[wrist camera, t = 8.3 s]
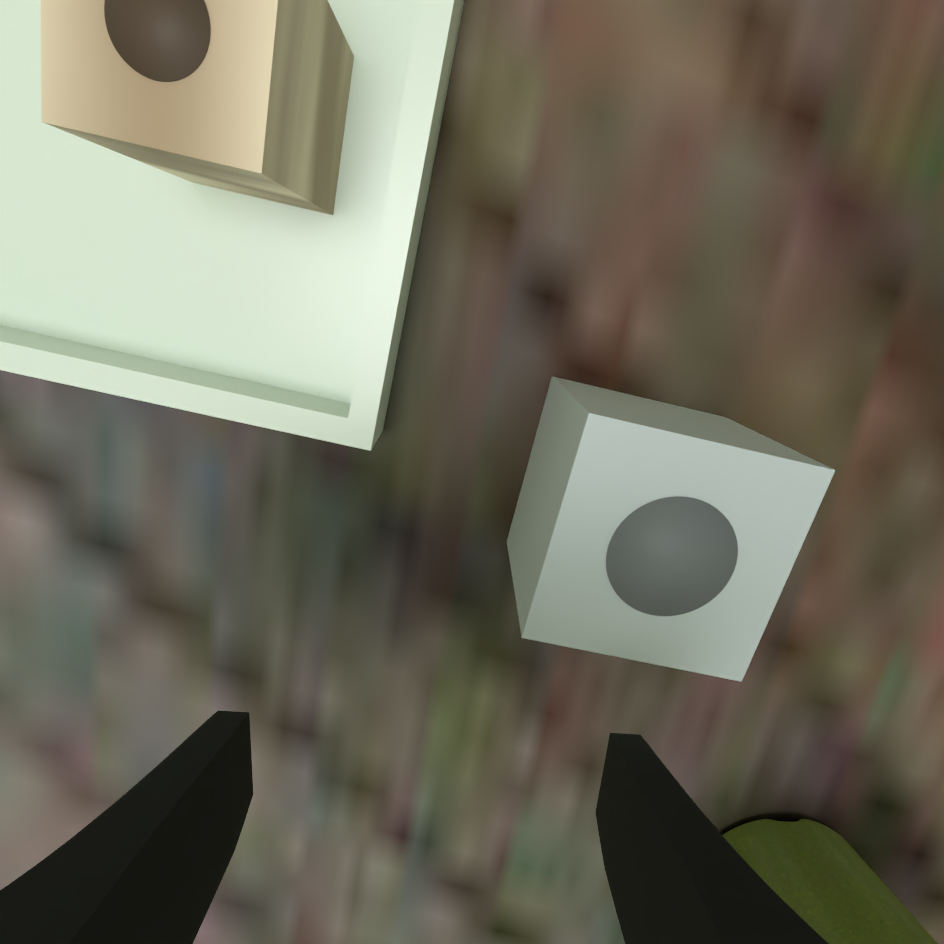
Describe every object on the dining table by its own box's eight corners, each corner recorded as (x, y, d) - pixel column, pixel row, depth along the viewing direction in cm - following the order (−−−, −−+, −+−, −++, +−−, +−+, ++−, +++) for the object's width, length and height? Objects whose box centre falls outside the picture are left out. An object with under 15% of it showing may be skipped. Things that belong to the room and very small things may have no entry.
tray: (479, -79, 15) (482, -150, 12) (382, 430, 19) (370, 450, 17) (-170, -270, 14) (-305, -389, 11) (-124, 318, 18) (-216, 322, 15)
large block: (724, 416, 19) (836, 470, 13) (666, 574, 21) (742, 682, 15) (551, 375, 19) (589, 413, 13) (506, 540, 20) (521, 638, 15)
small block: (354, 55, 15) (285, -88, 9) (333, 214, 16) (260, 173, 11) (203, 18, 15) (37, -155, 9) (192, 182, 16) (39, 120, 10)
